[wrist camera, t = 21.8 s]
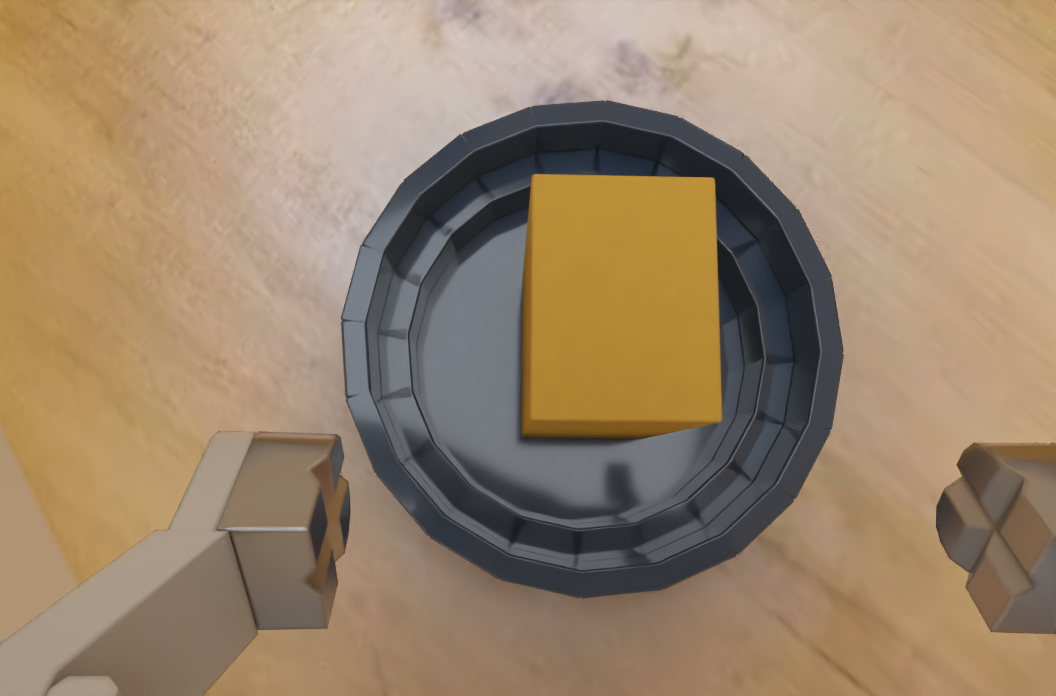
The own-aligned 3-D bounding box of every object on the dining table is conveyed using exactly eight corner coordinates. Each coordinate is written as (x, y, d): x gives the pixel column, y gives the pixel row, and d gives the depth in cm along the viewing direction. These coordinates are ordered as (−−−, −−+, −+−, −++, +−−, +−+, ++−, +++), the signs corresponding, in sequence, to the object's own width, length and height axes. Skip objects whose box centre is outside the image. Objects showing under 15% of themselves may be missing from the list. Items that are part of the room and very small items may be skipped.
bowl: (288, 431, 28) (243, 424, 23) (507, 91, 30) (507, 18, 26) (659, 656, 27) (693, 698, 22) (854, 289, 30) (924, 253, 25)
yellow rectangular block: (521, 437, 28) (529, 420, 18) (522, 274, 29) (531, 172, 19) (645, 438, 28) (723, 422, 18) (643, 276, 29) (716, 175, 19)
